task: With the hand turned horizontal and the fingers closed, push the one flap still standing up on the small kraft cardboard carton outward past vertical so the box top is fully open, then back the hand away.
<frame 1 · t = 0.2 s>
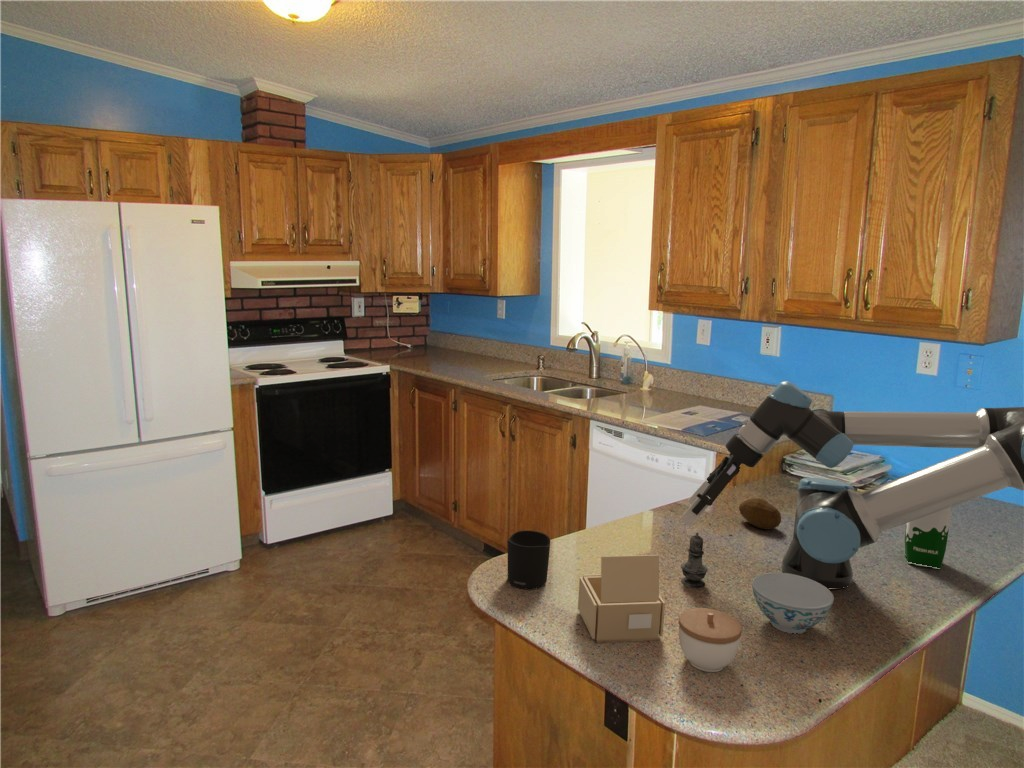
hand: (688, 513, 155), 15 cm above the worktop, tool tilted 35°, fingers open, 13 cm apart
carton: (618, 625, 134), on the worktop
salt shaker: (693, 583, 153), on the worktop
chinaware: (788, 626, 136), on the worktop
potato: (757, 526, 190), on the worktop
lidded jar: (706, 663, 122), on the worktop
pen holder: (527, 582, 151), on the worktop
flap: (630, 578, 127), point 12 cm above the worktop, hinge at -12.0°
milk carton: (922, 562, 170), on the worktop
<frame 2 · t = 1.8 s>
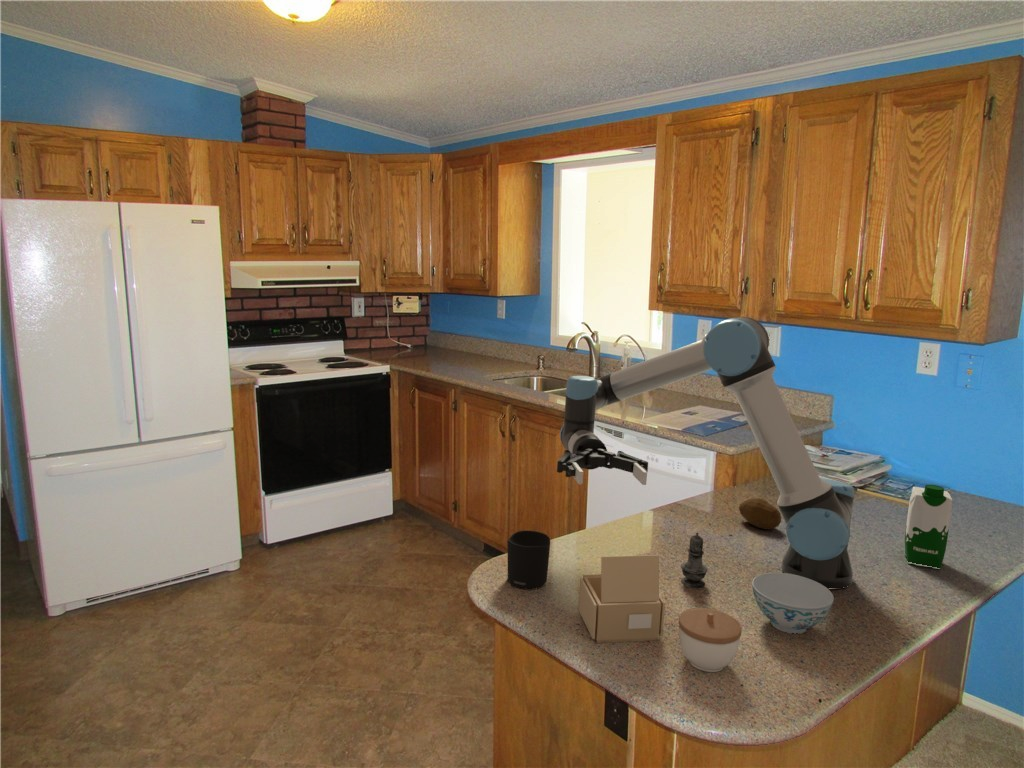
hand: (613, 478, 139), 27 cm above the worktop, tool horizontal, fingers open, 13 cm apart
nothing on the worktop moved.
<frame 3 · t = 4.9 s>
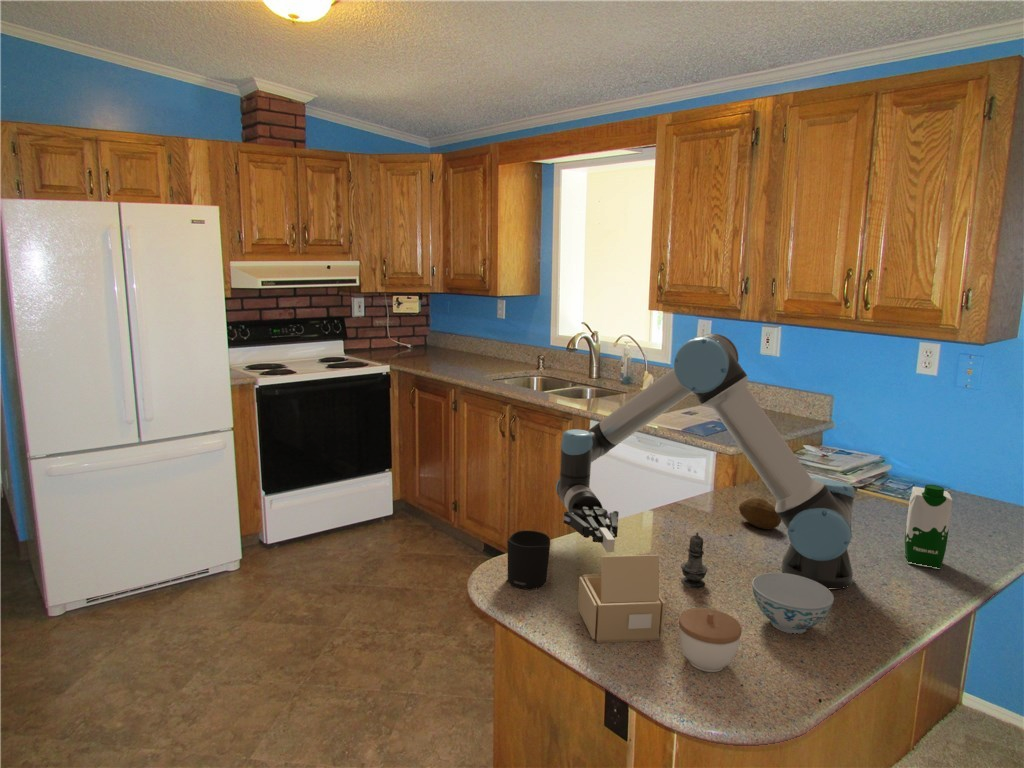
hand: (610, 545, 138), 13 cm above the worktop, tool horizontal, fingers closed
nothing on the worktop moved.
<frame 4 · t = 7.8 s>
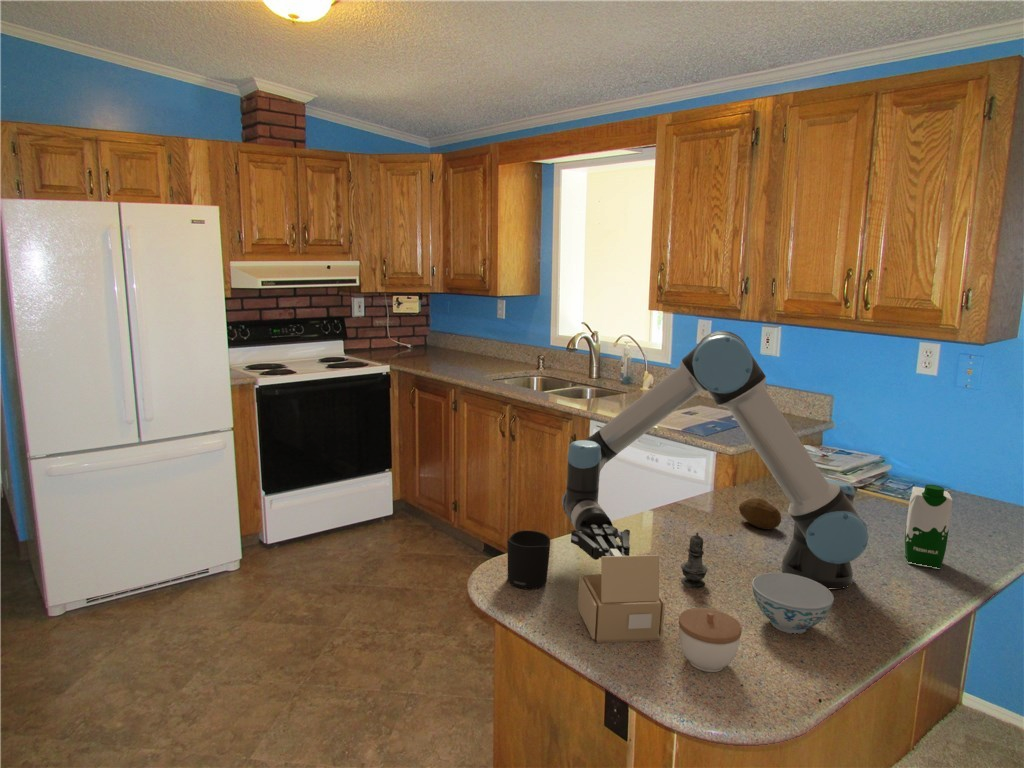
hand: (622, 569, 127), 14 cm above the worktop, tool horizontal, fingers closed
flap: (630, 578, 127), point 12 cm above the worktop, hinge at -11.0°, touching gripper
everything else where it was.
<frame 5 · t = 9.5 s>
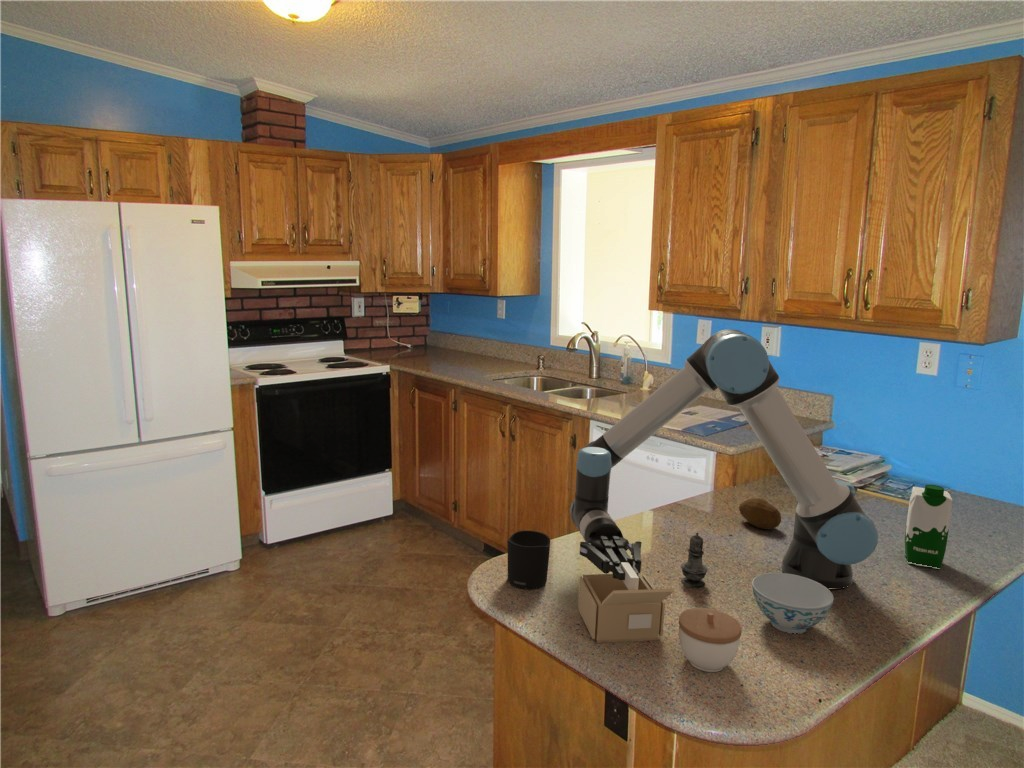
hand: (634, 584, 121), 14 cm above the worktop, tool horizontal, fingers closed
flap: (637, 597, 123), point 11 cm above the worktop, hinge at 49.4°, touching gripper
everything else where it was.
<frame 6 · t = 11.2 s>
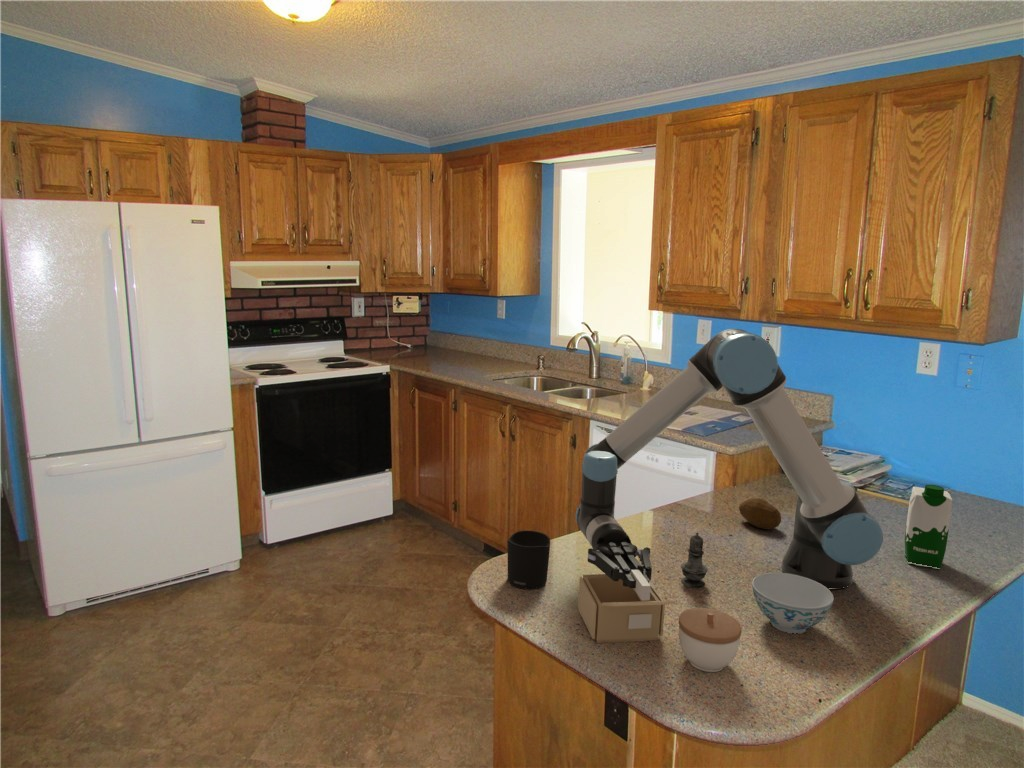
hand: (646, 593, 118), 13 cm above the worktop, tool horizontal, fingers closed
flap: (637, 603, 122), point 10 cm above the worktop, hinge at 63.4°
everything else where it was.
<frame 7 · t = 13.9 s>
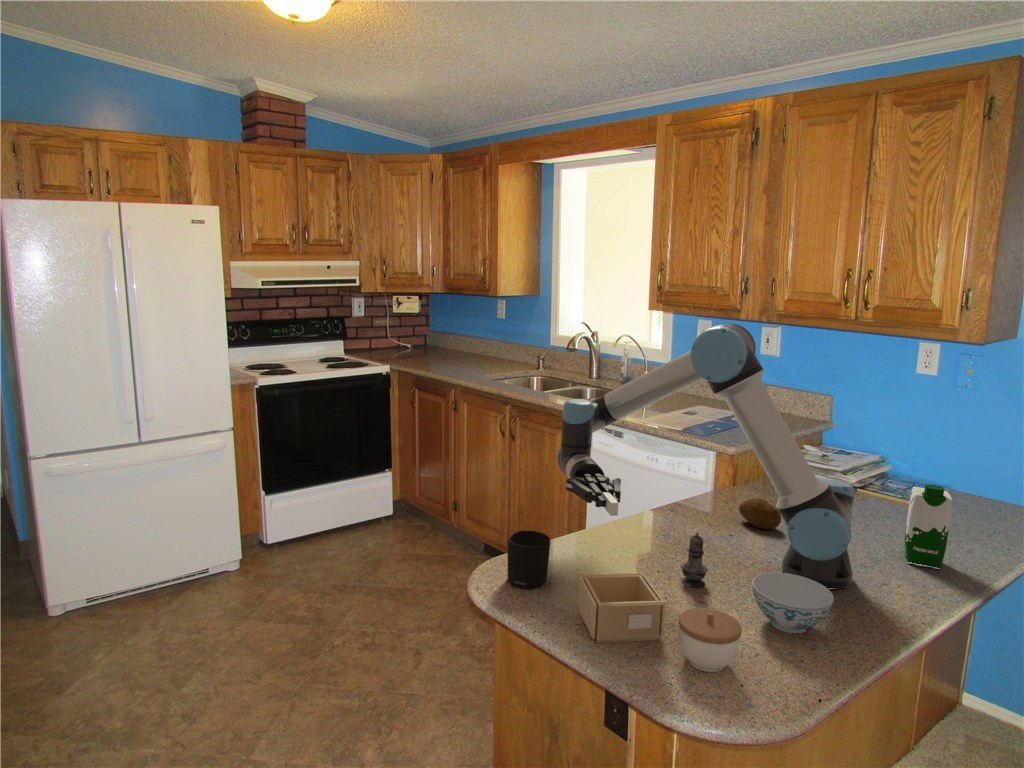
hand: (614, 509, 137), 21 cm above the worktop, tool horizontal, fingers closed
nothing on the worktop moved.
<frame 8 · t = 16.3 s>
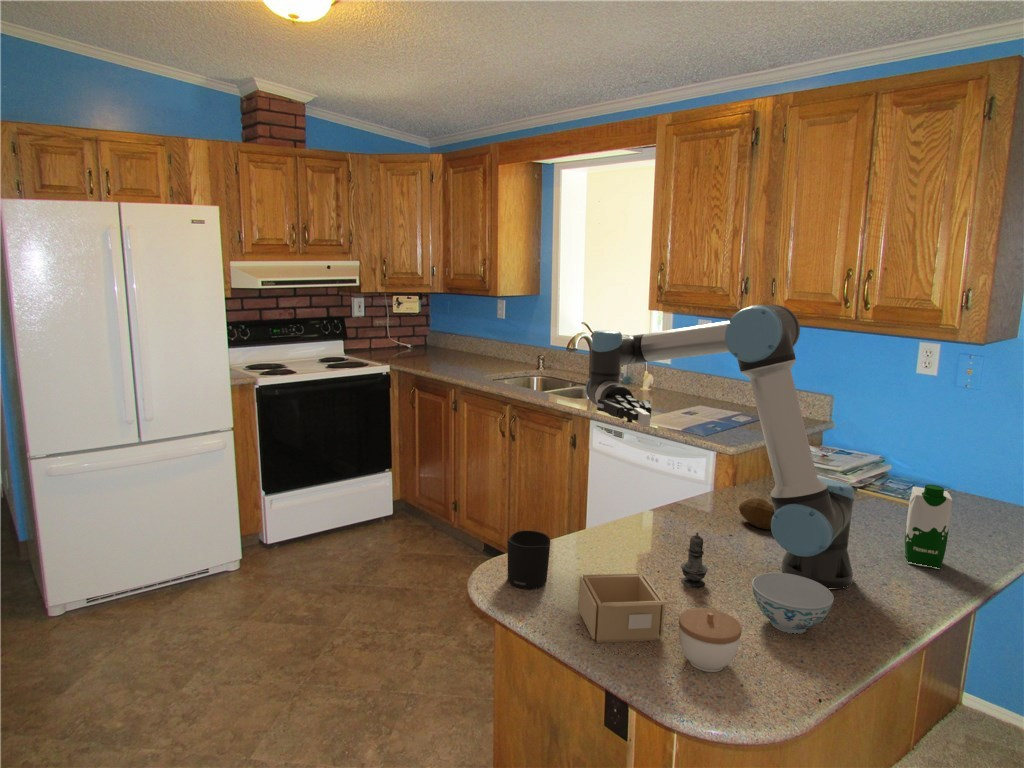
hand: (646, 420, 142), 38 cm above the worktop, tool horizontal, fingers closed
nothing on the worktop moved.
at the end: flap at +64° (first picture: -12°) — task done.
